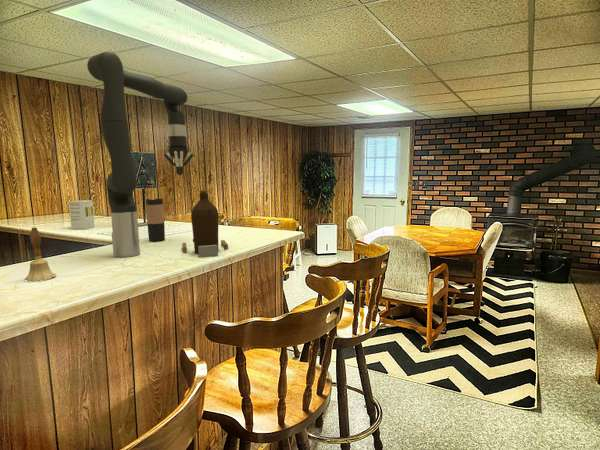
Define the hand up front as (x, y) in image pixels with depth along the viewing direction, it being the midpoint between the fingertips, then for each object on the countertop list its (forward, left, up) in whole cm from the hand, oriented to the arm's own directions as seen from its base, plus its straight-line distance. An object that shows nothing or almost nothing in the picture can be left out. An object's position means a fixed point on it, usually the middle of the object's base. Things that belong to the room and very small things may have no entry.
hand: (179, 175), depth 169 cm
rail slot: (+8, -17, -31) cm, 36 cm away
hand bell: (-44, -45, -31) cm, 70 cm away
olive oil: (+8, -25, -31) cm, 41 cm away
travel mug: (-12, +12, -31) cm, 36 cm away
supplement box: (-56, +77, -31) cm, 100 cm away
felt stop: (+8, -33, -31) cm, 46 cm away
